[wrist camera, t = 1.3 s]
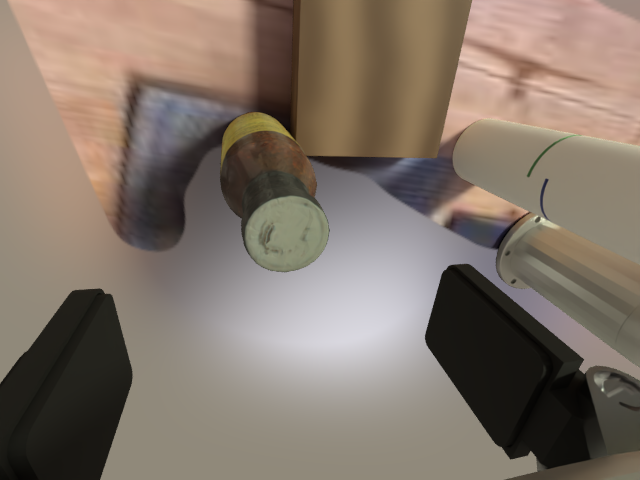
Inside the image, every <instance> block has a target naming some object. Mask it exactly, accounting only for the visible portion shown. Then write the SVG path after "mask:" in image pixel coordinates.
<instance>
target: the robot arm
mask: <svg viewBox="0 0 640 480" xmlns="http://www.w3.org/2000/svg"><path fill="white" fill-rule="evenodd" d="M496 269H497V273H498V275H499V277H500V278H501V279H502V280H503V281H504V282H505V283H507V284H508V285H509V286H512V287H514V288H519V289H525V288H532V289H534V290H535V291H536V292H538V293H539V294H540V295H542V296H543V297H545V298H546V299H547V300H548V301H550V302H551V303H552V304H554V305H555V306H556V307H558V308H559V309H560V310H562V311H563V312H565V313H566V314H567V315H569V316H570V317H571V318H572V319H574V320H575V321H577V322H578V323H579V324H581V325H582V326H583V327H585V328H586V329H587V330H589V331H590V332H591V333H593V334H594V335H595V336H597V337H598V338H600V339H601V340H602V341H603V342H605V343H606V344H607V345H609V346H610V347H611V348H613V349H614V350H616V351H617V352H618V353H620V354H621V355H622V356H624V357H625V358H626V359H628V360H629V361H630V362H632V363H633V364H635V365H637V366H638V367H640V265H639V264H637V263H635V262H632V261H630V260H628V259H626V258H624V257H622V256H620V255H618V254H616V253H614V252H612V251H610V250H608V249H606V248H604V247H602V246H600V245H597V244H595V243H593V242H591V241H589V240H587V239H585V238H583V237H581V236H579V235H577V234H575V233H573V232H571V231H569V230H567V229H565V228H563V227H560V226H558V225H556V224H554V223H552V222H550V221H548V220H546V219H544V218H542V217H540V216H538V215H536V214H534V213H530V214H528V215H526V216H525V217H524V218H522V219H521V220H520V221H518V222H517V223H516V224H515V225H514V226H513V227H512V228H511V229H510V231H509V232H508V233H507V235H506V236H505V237H504V239H503V241H502V243H501V244H500V247H499V250H498V252H497V257H496ZM425 340H426V344H427V346H428V348H429V349H430V351H431V352H432V353H433V355H434V356H435V358H436V359H437V361H438V362H439V364H440V365H441V366H442V368H443V369H444V371H445V372H446V374H447V375H448V377H449V378H450V379H451V381H452V382H453V383H454V385H455V386H456V388H457V389H458V391H459V392H460V394H461V395H462V397H463V398H464V399H465V401H466V402H467V404H468V405H469V407H470V408H471V410H472V411H473V413H474V414H475V415H476V417H477V418H478V420H479V421H480V422H481V424H482V426H483V427H484V428H485V430H486V431H487V433H488V434H489V436H490V437H491V438H492V440H493V441H494V442H495V444H497V445H498V446H500V447H502V448H503V450H504V451H505V453H506V454H507V455H508V457H509V458H510V459H515V458H519V457H523V456H527V455H528V454H529V452H530V451H532V452H533V454H534V455H535V456H536V458H537V471H538V472H534V473H531V474H526V475H522V476H518V477H514V478H510V479H506V480H640V380H638V379H636V378H634V377H632V376H631V375H629V374H627V373H624V372H622V371H620V370H617V369H614V368H610V367H606V366H593V367H590V368H589V369H588V370H587V371H586V373H585V374H583V373H582V372H581V371H580V370H579V367H580V366H581V364H582V362H583V361H584V359H583V358H581V357H580V356H579V355H578V354H577V353H576V352H574V351H573V350H572V349H571V348H570V347H568V346H567V345H566V344H565V343H564V342H562V341H561V340H560V339H558V337H556V336H555V335H554V334H553V333H552V332H550V331H549V330H548V329H547V328H546V327H544V326H543V325H542V324H540V323H539V322H538V321H537V320H536V319H535V318H533V317H532V316H531V315H530V314H529V313H528V312H526V311H525V310H524V309H523V308H522V307H520V306H519V305H518V304H517V303H516V302H514V301H513V300H512V299H511V298H510V297H508V296H507V295H506V294H505V293H503V292H502V291H501V290H500V289H499V288H498V287H496V286H495V285H494V284H493V283H492V282H490V281H489V280H488V279H487V278H486V277H484V276H483V275H482V274H481V273H479V272H478V271H477V270H476V269H475V268H474V267H472V266H471V265H469V264H458V265H450V266H448V268H447V269H446V270H444V271H443V273H442V276H441V280H440V284H439V287H438V290H437V294H436V298H435V301H434V305H433V308H432V312H431V316H430V319H429V323H428V327H427V330H426V334H425ZM131 384H132V368H131V364H130V360H129V357H128V353H127V349H126V346H125V341H124V338H123V334H122V330H121V326H120V323H119V319H118V315H117V311H116V308H115V304H114V300H113V297H112V295H111V294H105V293H104V291H103V290H102V289H86V290H75V291H72V292H71V293H70V294H69V296H68V297H67V298H66V300H65V301H64V302H63V304H62V305H61V306H60V308H59V309H58V311H57V312H56V313H55V315H54V316H53V317H52V319H51V320H50V321H49V323H48V324H47V325H46V327H45V328H44V330H43V331H42V332H41V334H40V335H39V336H38V338H37V339H36V340H35V342H34V343H33V344H32V346H31V347H30V348H29V350H28V351H27V352H25V353H24V354H23V355H22V356H21V357H20V358H19V359H18V361H17V362H16V363H15V365H14V366H13V367H12V369H11V370H10V371H9V373H8V374H7V375H6V377H5V378H4V379H3V381H2V382H1V384H0V480H100V478H101V475H102V472H103V469H104V466H105V463H106V460H107V457H108V454H109V451H110V448H111V445H112V441H113V439H114V436H115V433H116V430H117V427H118V423H119V420H120V417H121V414H122V411H123V408H124V405H125V402H126V399H127V396H128V393H129V390H130V387H131Z"/></svg>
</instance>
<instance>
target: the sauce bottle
mask: <svg viewBox="0 0 640 480" xmlns="http://www.w3.org/2000/svg"><path fill="white" fill-rule="evenodd" d="M220 175H221V176H220V182H221V189H222V192H223V195H224V198H225V200H226V202H227V204H228V206H229V207H230V209H231V210H232V211H233V212H234V213H235V214H236V215H238V216H239V217H240V218H242V221H241V226H242V228H241V230H242V237H243V241H244V246H245V248H246V250H247V252H248V254H249V255H250V256H251V258H252V259H253V260H254V261H255V262H256V263H257V264H258V265H260V266H261V267H263V268H265V269H268V270H271V271H277V272H289V271H294V270H298V269H301V268H304V267H306V266H308V265H309V264H310V263H312V262H314V261H315V260H316V259H317V258H318V257H319V256H320V254H321V253H322V252H323V250H324V248H325V246H326V244H327V241H328V236H329V231H330V230H329V225H328V220H327V218H326V215H325V213H324V211H323V210H322V207H321V206H320V204H319V203H318V201H317V200H316V199H315V198H314V196H315V192H316V187H317V182H316V179H315V173H314V170H313V168H312V165H311V163H310V161H309V159H308V158H307V156H306V155H305V153H304V151H303V150H302V148H301V147H300V146H299V144H298V143H297V142H296V141H295V140H294V138H293V137H292V136H291V135H290V134H289V133H288V131H287V130H286V129H285V128H284V127H283V125H281V124H280V123H279V122H278V121H277V120H276V119H275V118H273V117H271V116H269V115H266V114H263V113H259V112H248V113H246V114H243V115H241V116H239V117H238V118H236V119H234V120H233V121H232V122H231V123H230V124H229V126H228V127H227V129H226V131H225V133H224V136H223V140H222V151H221V170H220Z"/></svg>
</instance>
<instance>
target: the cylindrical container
mask: <svg viewBox="0 0 640 480" xmlns="http://www.w3.org/2000/svg"><path fill="white" fill-rule="evenodd" d="M452 161H453V167H454V170H455V172H456V173H457V175H458V176H459V177H460V178H462V179H463V180H465V181H468V182H470V183H472V184H474V185H476V186H478V187H480V188H482V189H484V190H486V191H488V192H490V193H492V194H494V195H496V196H498V197H500V198H503V199H505V200H507V201H509V202H511V203H513V204H515V205H517V206H519V207H521V208H523V209H525V210H527V211H529V212H532V213H534V214H536V215H538V216H540V217H542V218H544V219H546V220H548V221H550V222H552V223H554V224H556V225H558V226H560V227H563V228H565V229H567V230H569V231H571V232H573V233H575V234H577V235H579V236H581V237H583V238H585V239H587V240H589V241H591V242H593V243H595V244H597V245H600V246H602V247H604V248H606V249H608V250H610V251H612V252H614V253H616V254H618V255H620V256H622V257H624V258H626V259H628V260H630V261H632V262H635V263H637V264H639V265H640V146H636V145H631V144H626V143H620V142H615V141H610V140H604V139H599V138H594V137H588V136H582V135H577V134H572V133H567V132H561V131H556V130H551V129H545V128H540V127H535V126H529V125H524V124H519V123H513V122H508V121H503V120H497V119H492V118H487V119H482V120H479V121H477V122H475V123H473V124H472V125H470V126H469V127H468V128H467V129H466V130H465V131H464V132H463V133H462V134H461V136H460V137H459V139H458V141H457V142H456V145H455V148H454V151H453V160H452Z"/></svg>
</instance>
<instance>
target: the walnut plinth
mask: <svg viewBox="0 0 640 480" xmlns="http://www.w3.org/2000/svg"><path fill="white" fill-rule="evenodd" d="M471 3H472V0H293V37H292V77H291V117H290V135H291V136H292V137H293V138H294V140H295V141H296V142H297V143H298V144H299V146H300V147H301V148H302V150H303V151H304V153H305V155H306V156H353V157H402V158H437V155H438V150H439V146H440V141H441V137H442V132H443V128H444V124H445V119H446V115H447V110H448V106H449V101H450V97H451V92H452V88H453V83H454V79H455V74H456V70H457V65H458V61H459V56H460V52H461V47H462V43H463V39H464V34H465V30H466V25H467V21H468V16H469V12H470V7H471Z"/></svg>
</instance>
